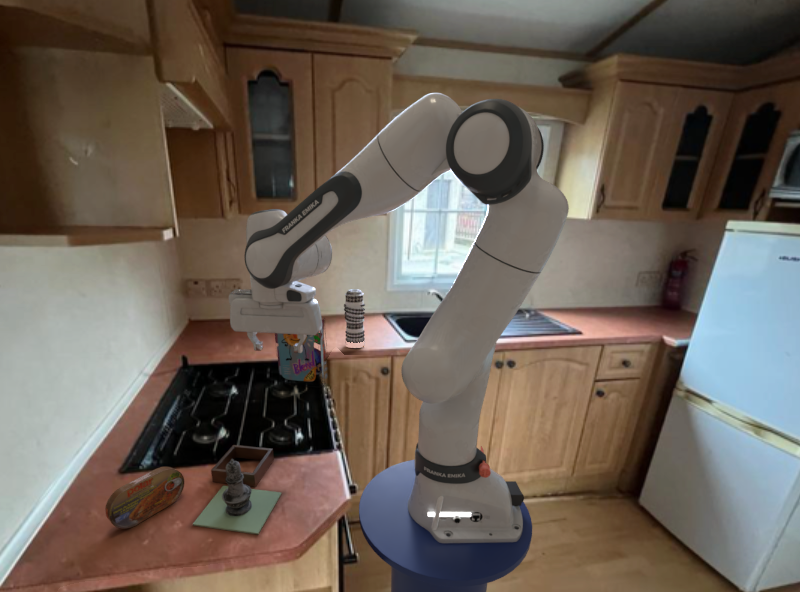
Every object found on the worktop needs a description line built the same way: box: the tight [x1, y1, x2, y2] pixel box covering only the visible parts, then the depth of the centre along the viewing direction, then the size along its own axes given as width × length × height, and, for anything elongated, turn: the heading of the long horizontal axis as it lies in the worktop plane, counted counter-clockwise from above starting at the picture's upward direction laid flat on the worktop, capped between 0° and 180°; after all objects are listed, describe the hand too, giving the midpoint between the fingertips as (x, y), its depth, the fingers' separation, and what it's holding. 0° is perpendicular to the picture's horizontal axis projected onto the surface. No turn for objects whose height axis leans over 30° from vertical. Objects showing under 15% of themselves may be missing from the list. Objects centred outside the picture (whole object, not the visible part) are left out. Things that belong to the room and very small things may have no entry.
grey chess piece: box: [222, 459, 252, 516], centre depth 84 cm, size 6×6×12 cm
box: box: [274, 318, 330, 389], centre depth 143 cm, size 25×6×24 cm, turn 73°
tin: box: [104, 466, 185, 530], centre depth 84 cm, size 15×3×8 cm, turn 143°
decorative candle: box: [343, 288, 366, 343], centre depth 178 cm, size 9×9×25 cm
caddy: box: [210, 444, 275, 488], centre depth 98 cm, size 11×11×3 cm
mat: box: [192, 485, 282, 535], centre depth 86 cm, size 14×12×1 cm
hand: (278, 351), depth 92 cm, fingers open, 8 cm apart
